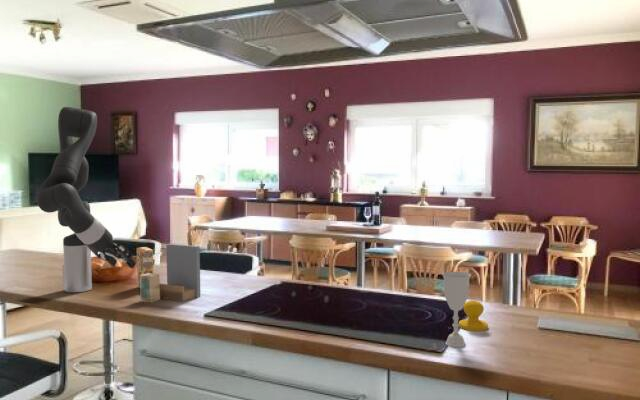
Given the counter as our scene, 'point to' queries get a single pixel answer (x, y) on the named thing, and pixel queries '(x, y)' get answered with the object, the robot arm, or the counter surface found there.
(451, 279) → the chalice
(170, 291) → the cleat board
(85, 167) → the robot arm
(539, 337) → the counter surface
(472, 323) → the doorknob
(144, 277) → the cabinet block
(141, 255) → the candy box
